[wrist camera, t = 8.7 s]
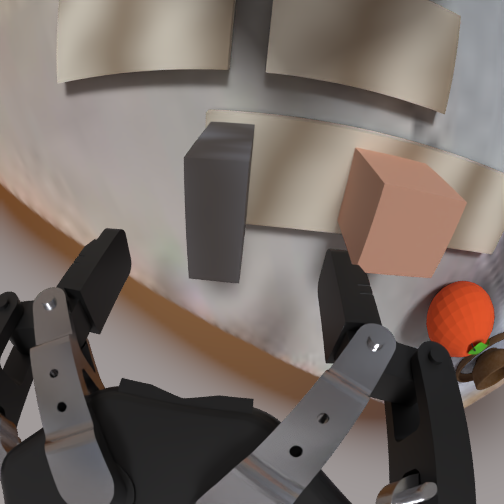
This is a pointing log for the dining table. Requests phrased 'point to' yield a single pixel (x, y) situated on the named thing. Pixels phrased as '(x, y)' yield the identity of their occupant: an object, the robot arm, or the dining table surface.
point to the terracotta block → (397, 215)
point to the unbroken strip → (305, 184)
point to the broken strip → (270, 41)
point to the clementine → (461, 318)
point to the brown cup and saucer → (485, 366)
